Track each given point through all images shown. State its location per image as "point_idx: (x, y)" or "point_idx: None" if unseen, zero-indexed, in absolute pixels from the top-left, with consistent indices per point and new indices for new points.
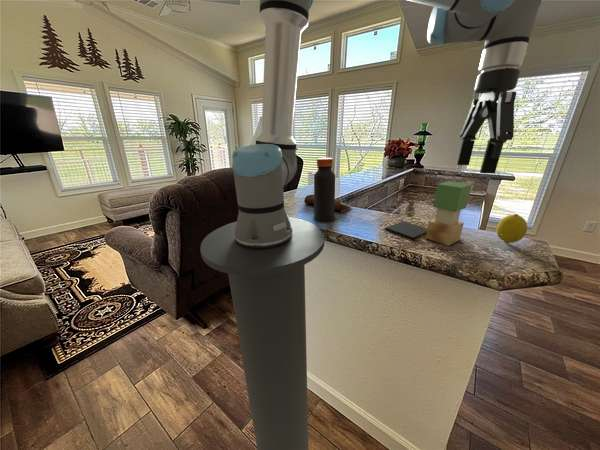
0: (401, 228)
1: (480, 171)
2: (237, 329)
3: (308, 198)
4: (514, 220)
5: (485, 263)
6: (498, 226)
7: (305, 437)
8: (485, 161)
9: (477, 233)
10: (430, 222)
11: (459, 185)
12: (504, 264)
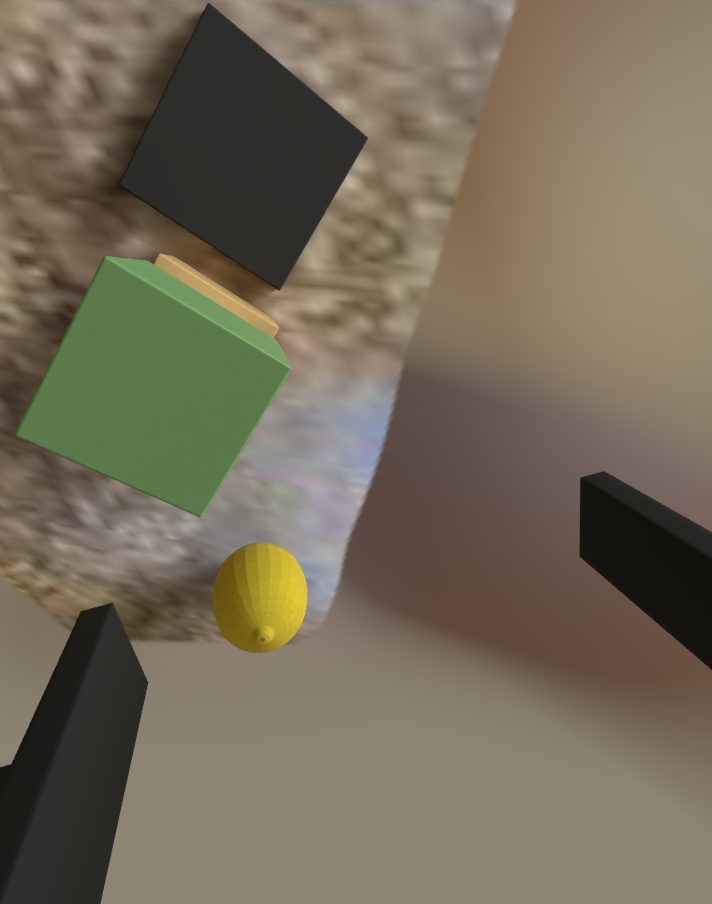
0: (231, 118)
1: (100, 612)
2: None
3: None
4: (228, 620)
5: (12, 467)
6: (256, 558)
7: None
8: (45, 703)
9: (330, 481)
10: (154, 263)
11: (113, 432)
12: (43, 523)
